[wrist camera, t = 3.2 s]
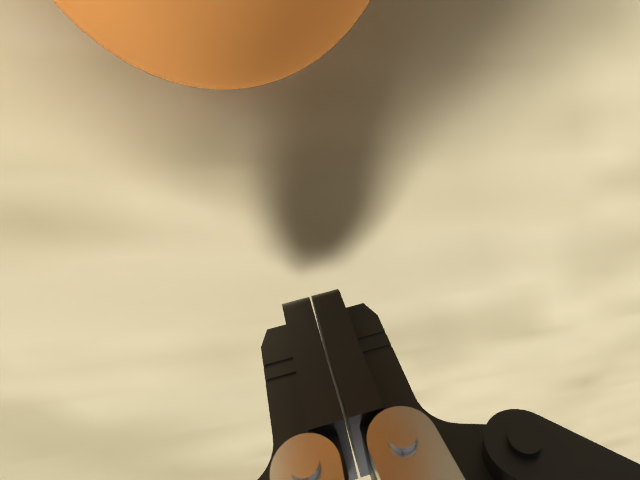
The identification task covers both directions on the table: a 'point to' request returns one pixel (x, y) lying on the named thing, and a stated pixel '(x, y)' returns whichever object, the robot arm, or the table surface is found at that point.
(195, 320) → the table surface
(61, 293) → the table surface
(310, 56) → the ball
